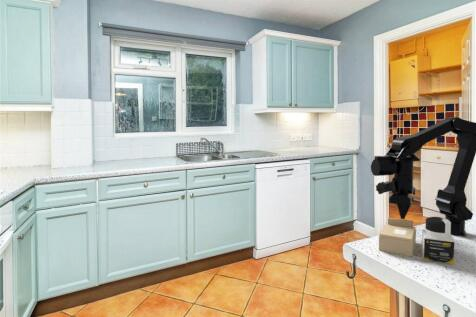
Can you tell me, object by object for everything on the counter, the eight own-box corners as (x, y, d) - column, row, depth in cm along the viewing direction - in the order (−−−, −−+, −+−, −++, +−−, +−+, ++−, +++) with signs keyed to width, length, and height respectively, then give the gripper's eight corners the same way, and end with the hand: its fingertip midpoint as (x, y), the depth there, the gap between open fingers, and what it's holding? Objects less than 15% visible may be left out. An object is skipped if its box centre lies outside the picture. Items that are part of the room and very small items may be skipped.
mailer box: (385, 239, 102) (385, 225, 102) (415, 244, 97) (416, 229, 96) (378, 251, 92) (379, 236, 92) (411, 258, 87) (412, 241, 87)
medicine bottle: (423, 261, 85) (424, 220, 84) (421, 251, 91) (422, 213, 90) (453, 265, 82) (455, 223, 81) (449, 255, 88) (451, 216, 87)
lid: (386, 224, 101) (386, 217, 101) (415, 229, 97) (415, 221, 96) (379, 236, 92) (379, 227, 92) (411, 241, 87) (411, 232, 87)
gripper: (382, 169, 113) (382, 209, 115) (372, 177, 98) (372, 222, 100) (416, 171, 107) (415, 212, 109) (411, 179, 92) (409, 228, 94)
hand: (402, 218), depth 103 cm, fingers closed
